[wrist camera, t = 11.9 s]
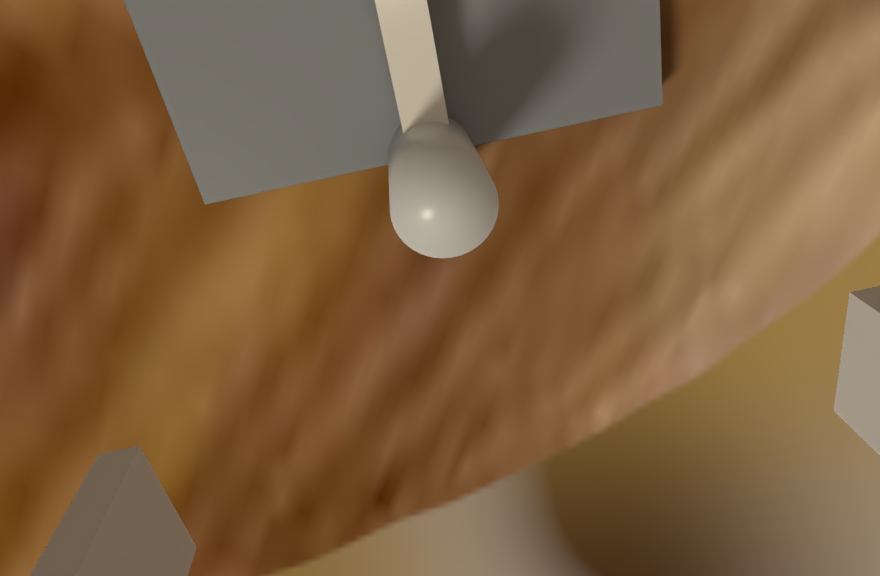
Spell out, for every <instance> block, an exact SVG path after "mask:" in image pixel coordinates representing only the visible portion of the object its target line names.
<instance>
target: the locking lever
mask: <svg viewBox="0 0 880 576" xmlns="http://www.w3.org/2000/svg"><path fill="white" fill-rule="evenodd" d="M375 4H376V9H377V14H378V18H379V23H380V28H381V32H382V37H383V42H384V46H385V51H386V56H387V60H388V65H389V70H390V74H391V79H392V83H393V88H394V93H395V97H396V102H397V107H398V111H399V116H400V121H401V126H400V127H399V128H398V130H397V131H396V132H395V134H394V135H393V137H392V139H391V142H390V145H389V149H388V173H389V198H390V215H391V220H392V224H393V226H394V229H395V231H396V233H397V234H398V236H399V237H400V238H401V240H402V241H403V242H404V243H405V244H406V245H407V246H409V247H410V248H411V249H413V250H414V251H416V252H418V253H420V254H423V255H425V256H429V257H434V258H451V257H456V256H460V255H463V254H465V253H467V252H469V251H471V250H473V249H474V248H476V247H477V246H479V245H480V244H481V243H482V242H483V241H484V240H485V239H486V238H487V236H488V235H489V234H490V232H491V231H492V229H493V227H494V225H495V222H496V219H497V216H498V210H499V200H498V194H497V190H496V187H495V184H494V182H493V181H492V179H491V177H490V175H489V173H488V171H487V169H486V167H485V165H484V164H483V162H482V160H481V158H480V156H479V154H478V152H477V150H476V149H475V147H474V145H473V143H472V141H471V139H470V137H469V135H468V134H467V132H466V131H465V129H464V128H463V127H462V126H461V125H460V124H459V123H458V122H456V121H455V120H453V119H452V118H450V117H448V115H447V110H446V104H445V99H444V93H443V87H442V82H441V76H440V71H439V65H438V60H437V54H436V48H435V43H434V37H433V32H432V26H431V20H430V15H429V9H428V4H427V0H375Z"/></svg>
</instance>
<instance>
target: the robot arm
mask: <svg viewBox="0 0 880 576" xmlns="http://www.w3.org/2000/svg"><path fill="white" fill-rule="evenodd" d="M834 411H835V412H836V413H837V414H838V415H839V416H840V417H841V418H842V419H843V420H844V421H845V422H846V423H847V424H848V425H849V426H850V427H851V428H852V429H853V430H854V431H855V432H856V433H857V434H858V435H859V436H860V437H862V439H864V440H865V442H866V443H867V444H869V445H870V446H871V447H872V448H873V449H874V450H875V451H876V452H877V453H878V454H879V455H880V286H878V287H873V288H868V289H863V290H859V291H854V292H850V294H849V302H848V309H847V316H846V324H845V331H844V338H843V346H842V353H841V360H840V368H839V375H838V383H837V390H836V397H835V405H834ZM195 550H196V545H195V544H194V542H193V540H192V538H191V536H190V535H189V533H188V531H187V529H186V528H185V526H184V524H183V522H182V520H181V519H180V517H179V515H178V513H177V512H176V510H175V508H174V506H173V504H172V503H171V501H170V499H169V497H168V496H167V494H166V492H165V490H164V488H163V487H162V485H161V483H160V481H159V480H158V478H157V476H156V474H155V472H154V471H153V469H152V467H151V465H150V464H149V462H148V460H147V458H146V456H145V455H144V453H143V451H142V449H141V448H140V446H136V447H131V448H126V449H122V450H117V451H112V452H108V453H103V454H98V456H97V458H96V460H95V461H94V463H93V465H92V467H91V469H90V470H89V472H88V474H87V476H86V477H85V479H84V481H83V483H82V484H81V486H80V488H79V490H78V492H77V493H76V495H75V497H74V499H73V500H72V502H71V504H70V506H69V507H68V509H67V511H66V513H65V515H64V516H63V518H62V520H61V522H60V523H59V525H58V527H57V529H56V530H55V532H54V534H53V536H52V538H51V539H50V541H49V543H48V545H47V546H46V548H45V550H44V552H43V553H42V555H41V557H40V559H39V560H38V562H37V564H36V566H35V568H34V569H33V571H32V573H31V575H30V576H188V572H189V569H190V566H191V563H192V559H193V556H194V553H195Z"/></svg>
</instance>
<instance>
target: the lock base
mask: <svg viewBox="0 0 880 576" xmlns="http://www.w3.org/2000/svg"><path fill="white" fill-rule="evenodd" d="M124 1H125V4H126V6H127V9H128V11H129V14H130V16H131V19H132V21H133V24H134V26H135V29H136V32H137V34H138V37H139V39H140V42H141V44H142V47H143V49H144V52H145V54H146V57H147V59H148V62H149V64H150V67H151V69H152V72H153V75H154V77H155V80H156V82H157V85H158V87H159V90H160V92H161V95H162V97H163V100H164V102H165V105H166V107H167V110H168V112H169V115H170V117H171V120H172V123H173V125H174V128H175V130H176V133H177V135H178V138H179V140H180V143H181V145H182V148H183V150H184V153H185V155H186V158H187V160H188V163H189V166H190V168H191V171H192V173H193V176H194V178H195V181H196V183H197V186H198V188H199V191H200V193H201V196H202V198H203V201H204V203H205V204H210V203H214V202H219V201H223V200H228V199H233V198H237V197H242V196H246V195H251V194H256V193H260V192H265V191H269V190H274V189H279V188H283V187H288V186H292V185H297V184H301V183H306V182H311V181H315V180H320V179H324V178H329V177H334V176H338V175H343V174H347V173H352V172H357V171H361V170H366V169H370V168H375V167H380V166H384V165H388V149H389V145H390V142H391V139H392V137H393V135H394V134H395V132H396V131H397V130H398V128H399V127H400V126H401V121H400V116H399V111H398V107H397V102H396V97H395V93H394V88H393V83H392V79H391V74H390V70H389V65H388V60H387V56H386V51H385V46H384V42H383V37H382V32H381V28H380V23H379V18H378V14H377V9H376V4H375V0H124ZM427 4H428V9H429V15H430V20H431V26H432V32H433V37H434V43H435V48H436V54H437V60H438V65H439V71H440V76H441V82H442V87H443V93H444V99H445V104H446V110H447V115H448V117H450V118H452V119H453V120H455V121H456V122H458V123H459V124H460V125H461V126H462V127H463V128H464V129H465V131H466V132H467V134H468V135H469V137H470V139H471V141H472V143H473V145H474V146H476V145H481V144H485V143H490V142H494V141H499V140H504V139H508V138H513V137H517V136H522V135H526V134H531V133H536V132H540V131H545V130H549V129H554V128H559V127H563V126H568V125H572V124H577V123H582V122H586V121H591V120H595V119H600V118H605V117H609V116H614V115H618V114H623V113H628V112H632V111H637V110H641V109H646V108H650V107H655V106H660V105H663V102H662V65H661V28H660V0H427Z"/></svg>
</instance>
